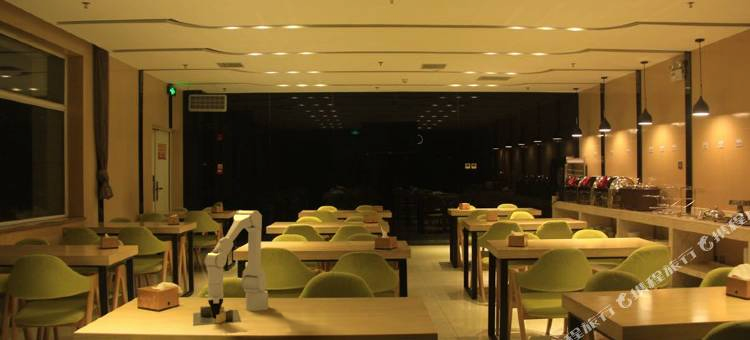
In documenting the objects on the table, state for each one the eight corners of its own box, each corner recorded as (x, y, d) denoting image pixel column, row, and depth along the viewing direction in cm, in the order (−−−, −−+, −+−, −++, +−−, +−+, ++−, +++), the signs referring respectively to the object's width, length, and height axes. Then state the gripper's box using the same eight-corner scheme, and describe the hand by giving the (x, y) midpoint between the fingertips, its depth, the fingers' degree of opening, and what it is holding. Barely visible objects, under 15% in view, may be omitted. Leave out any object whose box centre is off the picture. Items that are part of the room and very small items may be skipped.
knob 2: (225, 317, 233) (225, 308, 233) (235, 317, 232) (235, 309, 232) (212, 322, 225) (212, 313, 225) (222, 323, 223) (222, 314, 223)
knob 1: (200, 316, 235) (200, 307, 235) (200, 313, 239) (200, 305, 239) (223, 314, 238) (223, 306, 238) (223, 312, 242) (223, 303, 242)
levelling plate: (237, 312, 247) (237, 308, 247) (241, 324, 226) (241, 320, 226) (193, 315, 242) (193, 311, 242) (193, 328, 221) (193, 324, 221)
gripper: (204, 280, 233) (204, 314, 233) (205, 287, 219) (205, 323, 219) (222, 279, 235) (223, 313, 235) (224, 286, 221) (224, 321, 221)
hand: (215, 318), depth 227 cm, fingers closed
